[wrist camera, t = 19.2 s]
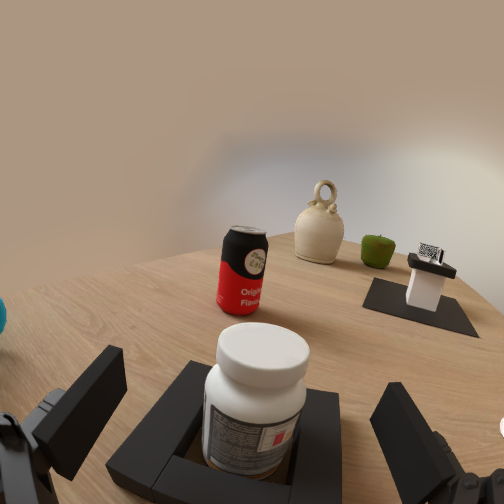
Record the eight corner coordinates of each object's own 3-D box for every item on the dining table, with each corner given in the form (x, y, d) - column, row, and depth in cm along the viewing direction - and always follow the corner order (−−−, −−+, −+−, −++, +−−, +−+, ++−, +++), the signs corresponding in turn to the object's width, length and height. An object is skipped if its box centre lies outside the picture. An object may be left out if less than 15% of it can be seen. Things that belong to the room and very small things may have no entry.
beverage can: (210, 312, 38) (220, 227, 35) (220, 297, 44) (230, 223, 41) (255, 321, 37) (269, 235, 35) (259, 304, 43) (271, 230, 41)
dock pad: (113, 482, 10) (104, 464, 10) (189, 380, 23) (190, 359, 22) (324, 540, 8) (340, 529, 7) (329, 412, 20) (338, 392, 20)
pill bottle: (297, 461, 15) (343, 353, 13) (231, 497, 11) (257, 393, 9) (249, 417, 19) (271, 311, 17) (185, 440, 16) (188, 326, 14)
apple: (364, 259, 98) (370, 230, 96) (393, 268, 90) (400, 238, 88) (352, 262, 89) (358, 230, 86) (384, 272, 81) (392, 238, 78)
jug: (287, 250, 93) (299, 177, 88) (330, 256, 93) (343, 185, 88) (293, 261, 78) (307, 173, 73) (343, 268, 78) (359, 184, 73)
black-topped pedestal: (479, 338, 36) (501, 270, 33) (362, 306, 48) (378, 237, 45) (455, 299, 60) (467, 253, 57) (374, 277, 72) (384, 231, 69)
